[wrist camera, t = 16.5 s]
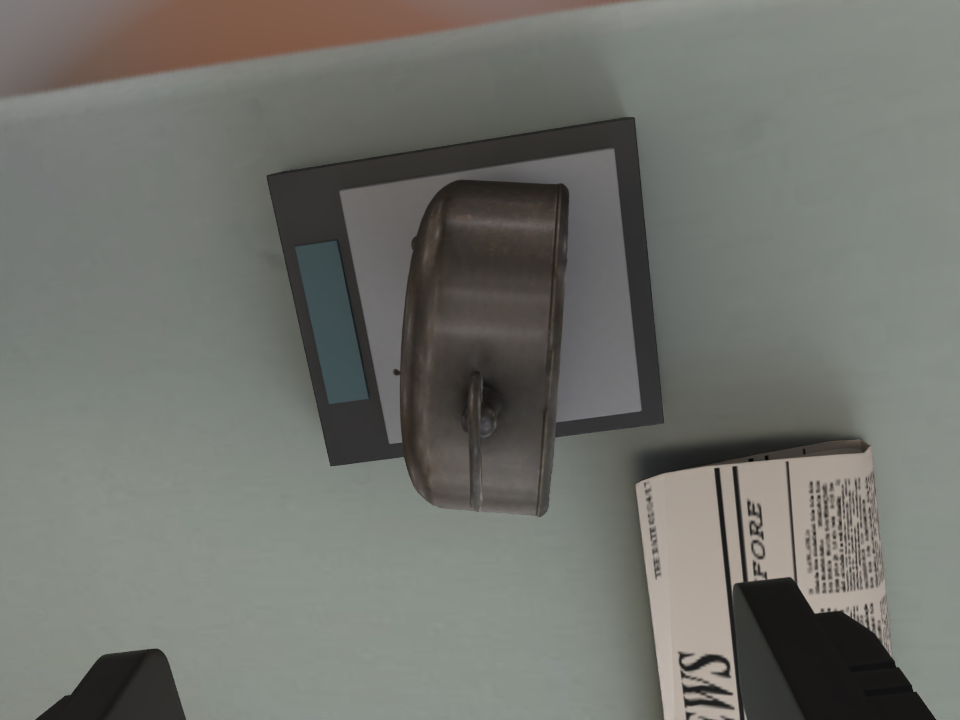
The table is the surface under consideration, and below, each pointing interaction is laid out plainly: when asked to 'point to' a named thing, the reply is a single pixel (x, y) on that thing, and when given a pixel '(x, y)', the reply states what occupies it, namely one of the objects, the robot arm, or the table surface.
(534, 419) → the alarm clock
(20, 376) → the table surface
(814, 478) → the newspaper
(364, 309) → the scale
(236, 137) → the table surface
